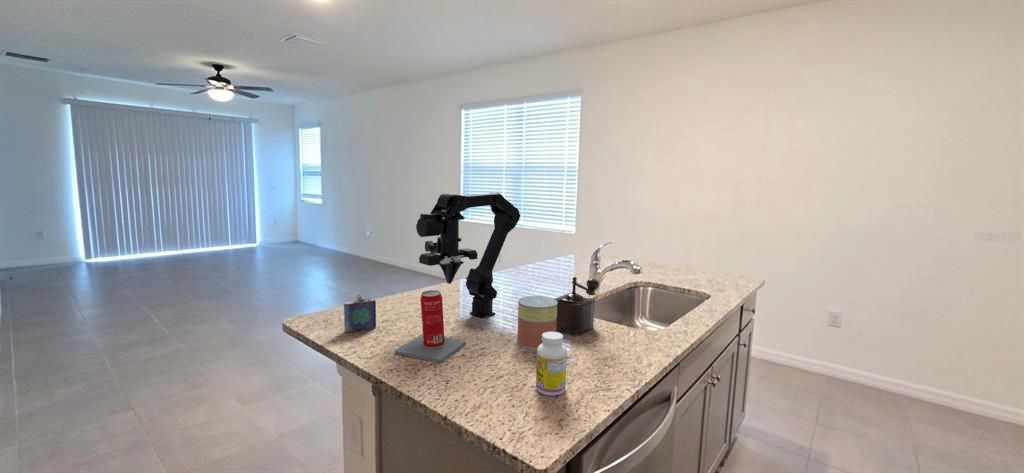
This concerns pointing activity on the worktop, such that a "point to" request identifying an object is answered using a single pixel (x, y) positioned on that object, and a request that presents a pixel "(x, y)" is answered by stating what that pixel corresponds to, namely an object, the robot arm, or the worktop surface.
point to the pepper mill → (576, 309)
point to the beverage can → (432, 319)
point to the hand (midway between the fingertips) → (449, 283)
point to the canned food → (535, 319)
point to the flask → (359, 315)
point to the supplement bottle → (551, 364)
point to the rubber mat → (436, 354)
